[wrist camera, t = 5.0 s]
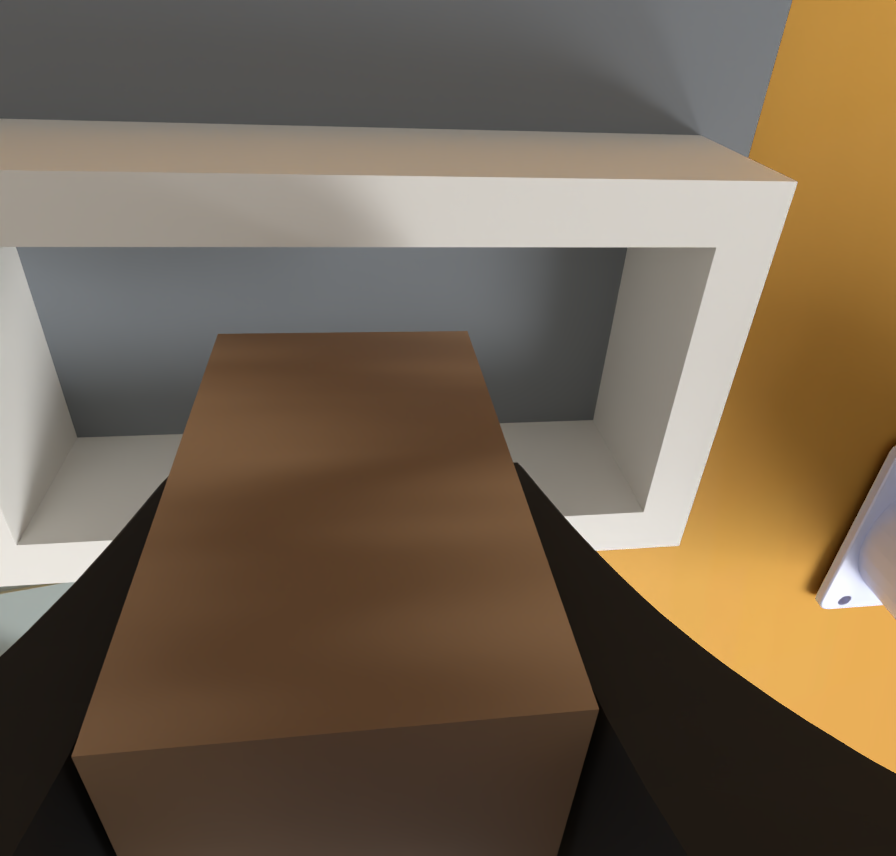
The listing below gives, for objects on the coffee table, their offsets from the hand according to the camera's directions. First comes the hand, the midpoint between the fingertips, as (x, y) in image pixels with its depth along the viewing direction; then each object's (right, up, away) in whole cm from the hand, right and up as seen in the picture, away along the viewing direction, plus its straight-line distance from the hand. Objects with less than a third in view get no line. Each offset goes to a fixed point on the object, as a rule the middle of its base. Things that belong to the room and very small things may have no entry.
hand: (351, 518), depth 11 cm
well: (-1, +5, +7) cm, 8 cm away
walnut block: (0, +1, +1) cm, 2 cm away
